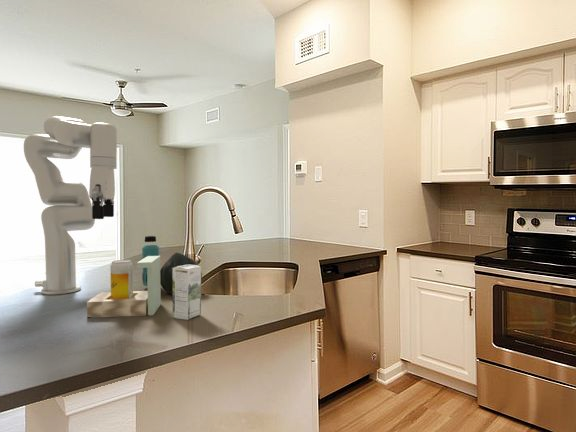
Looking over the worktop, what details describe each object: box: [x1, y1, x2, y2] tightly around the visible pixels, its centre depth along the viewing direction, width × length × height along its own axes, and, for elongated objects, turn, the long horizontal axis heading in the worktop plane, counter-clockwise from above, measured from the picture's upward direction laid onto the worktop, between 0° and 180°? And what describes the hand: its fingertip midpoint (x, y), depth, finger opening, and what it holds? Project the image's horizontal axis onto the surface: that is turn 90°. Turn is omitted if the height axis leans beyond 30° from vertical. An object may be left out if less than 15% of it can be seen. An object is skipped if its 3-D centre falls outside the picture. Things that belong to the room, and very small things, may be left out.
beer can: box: [109, 259, 134, 299], centre depth 117 cm, size 6×6×15 cm
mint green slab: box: [136, 255, 162, 316], centre depth 118 cm, size 4×14×16 cm, turn 8°
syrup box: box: [172, 265, 202, 321], centre depth 111 cm, size 6×6×14 cm
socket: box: [86, 290, 148, 318], centre depth 117 cm, size 16×12×4 cm
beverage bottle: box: [141, 235, 160, 287], centre depth 148 cm, size 6×7×20 cm
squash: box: [160, 252, 203, 295], centre depth 142 cm, size 14×15×15 cm
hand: (103, 217), depth 124 cm, fingers open, 9 cm apart
